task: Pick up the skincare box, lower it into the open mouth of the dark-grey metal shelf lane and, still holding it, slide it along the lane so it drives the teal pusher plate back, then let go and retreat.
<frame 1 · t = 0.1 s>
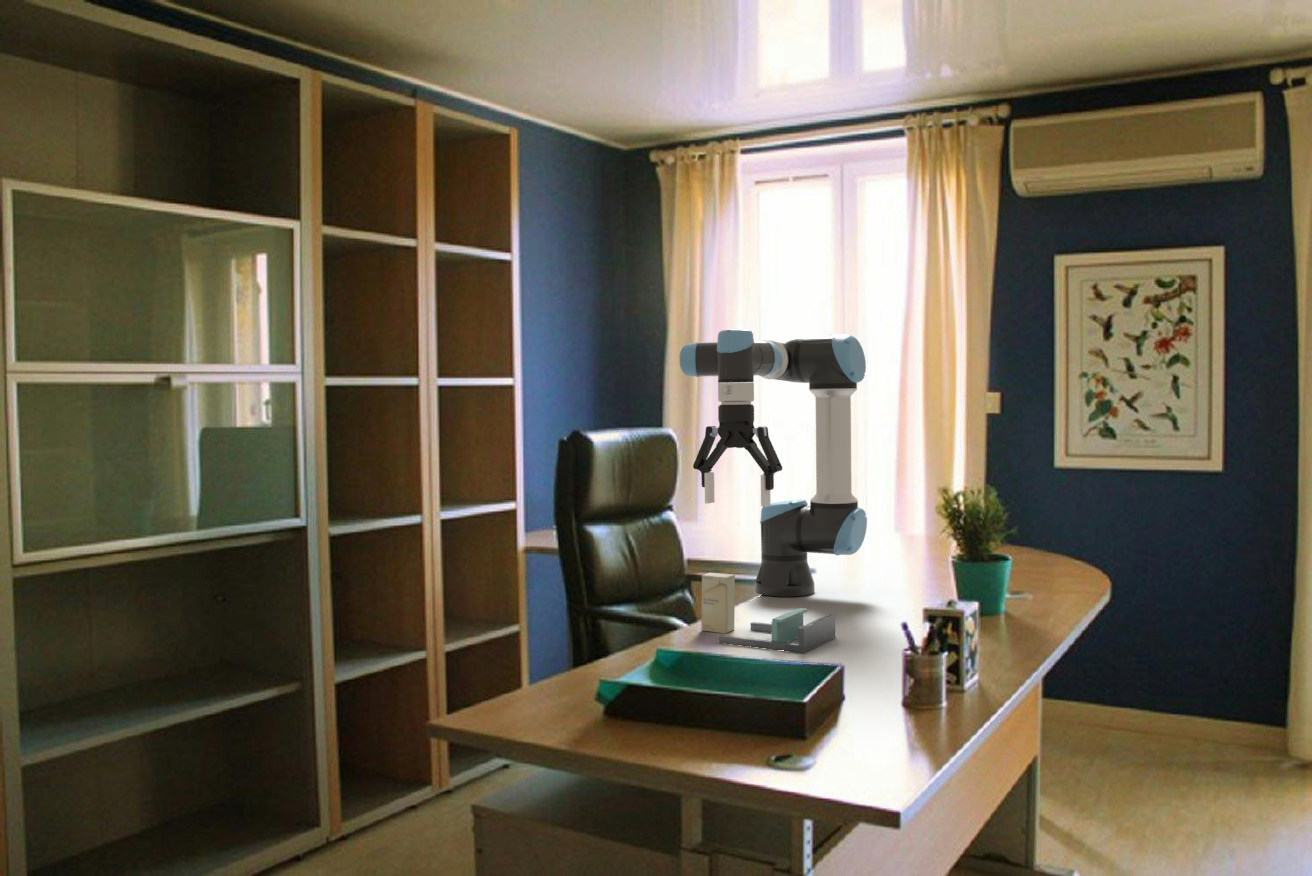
hand: (737, 504, 237), 28 cm above the table, fingers open, 13 cm apart
lane: (774, 640, 233), on the table
skincare box: (718, 631, 244), on the table
pusher: (786, 626, 231), point 3 cm above the table, slide at 0.0 cm
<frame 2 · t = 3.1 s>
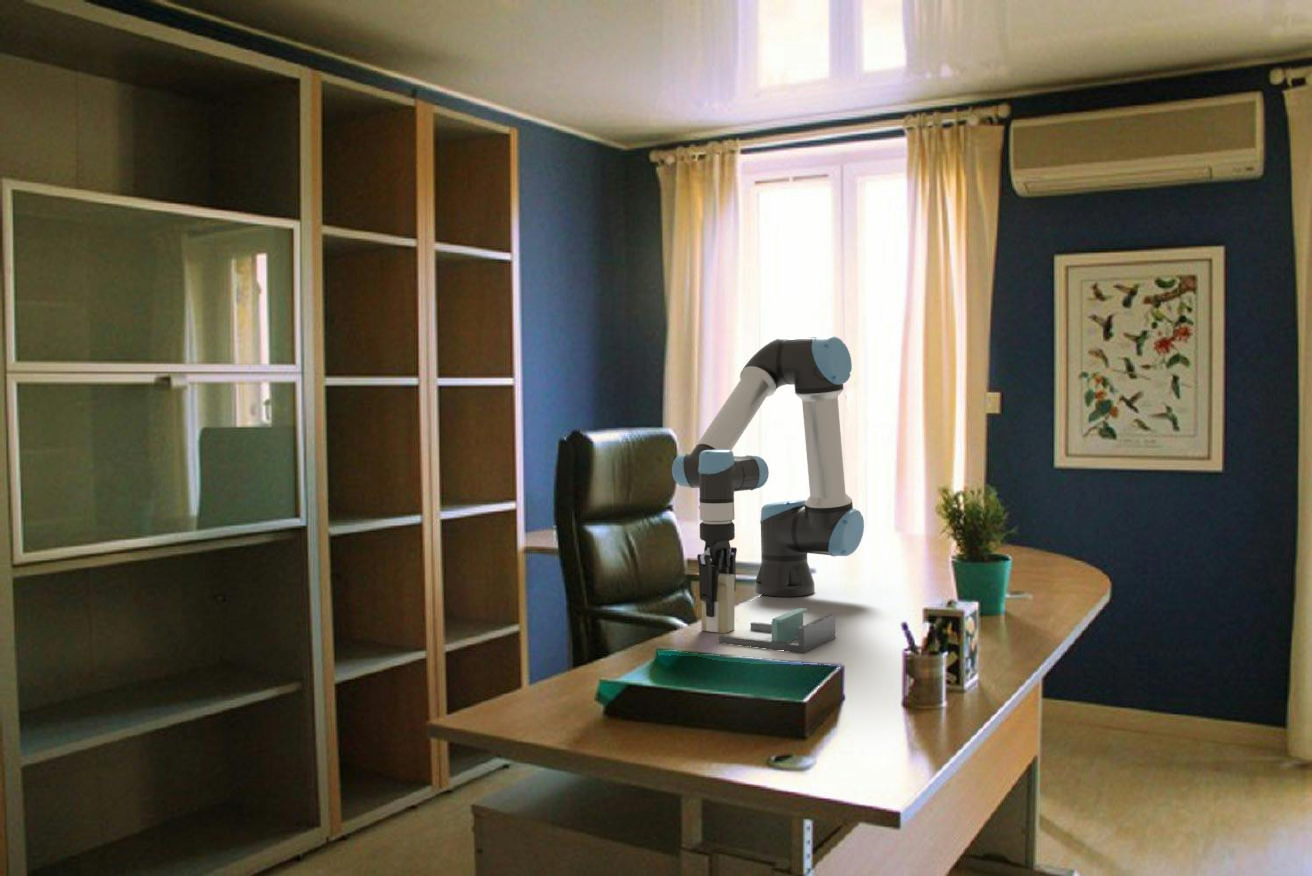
hand: (718, 628, 243), 0 cm above the table, fingers closed on skincare box, 4 cm apart
skincare box: (718, 631, 244), on the table, touching gripper
everything else where it was.
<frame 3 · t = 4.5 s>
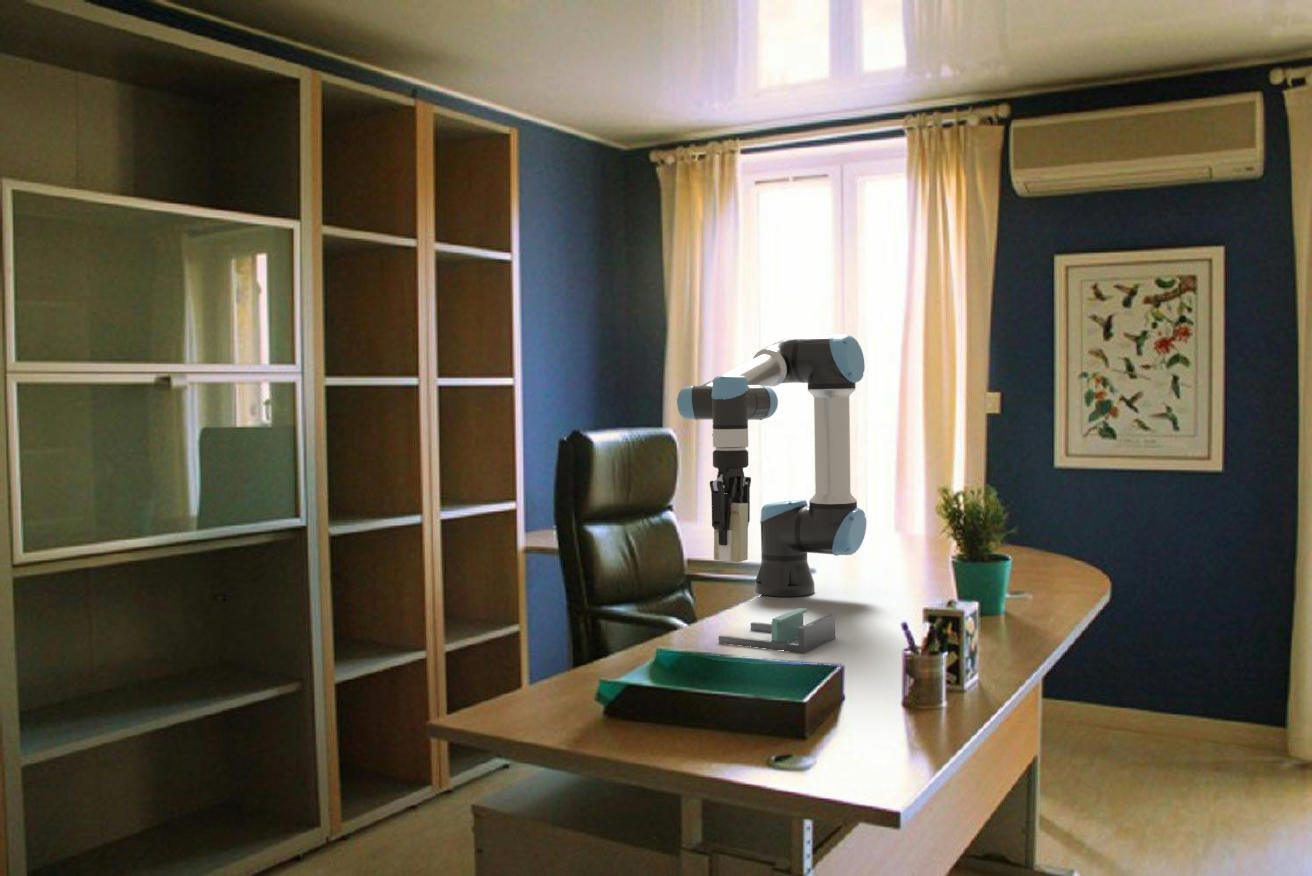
hand: (731, 558, 239), 16 cm above the table, fingers closed on skincare box, 4 cm apart
skincare box: (731, 561, 239), point 16 cm above the table, touching gripper
everything else where it was.
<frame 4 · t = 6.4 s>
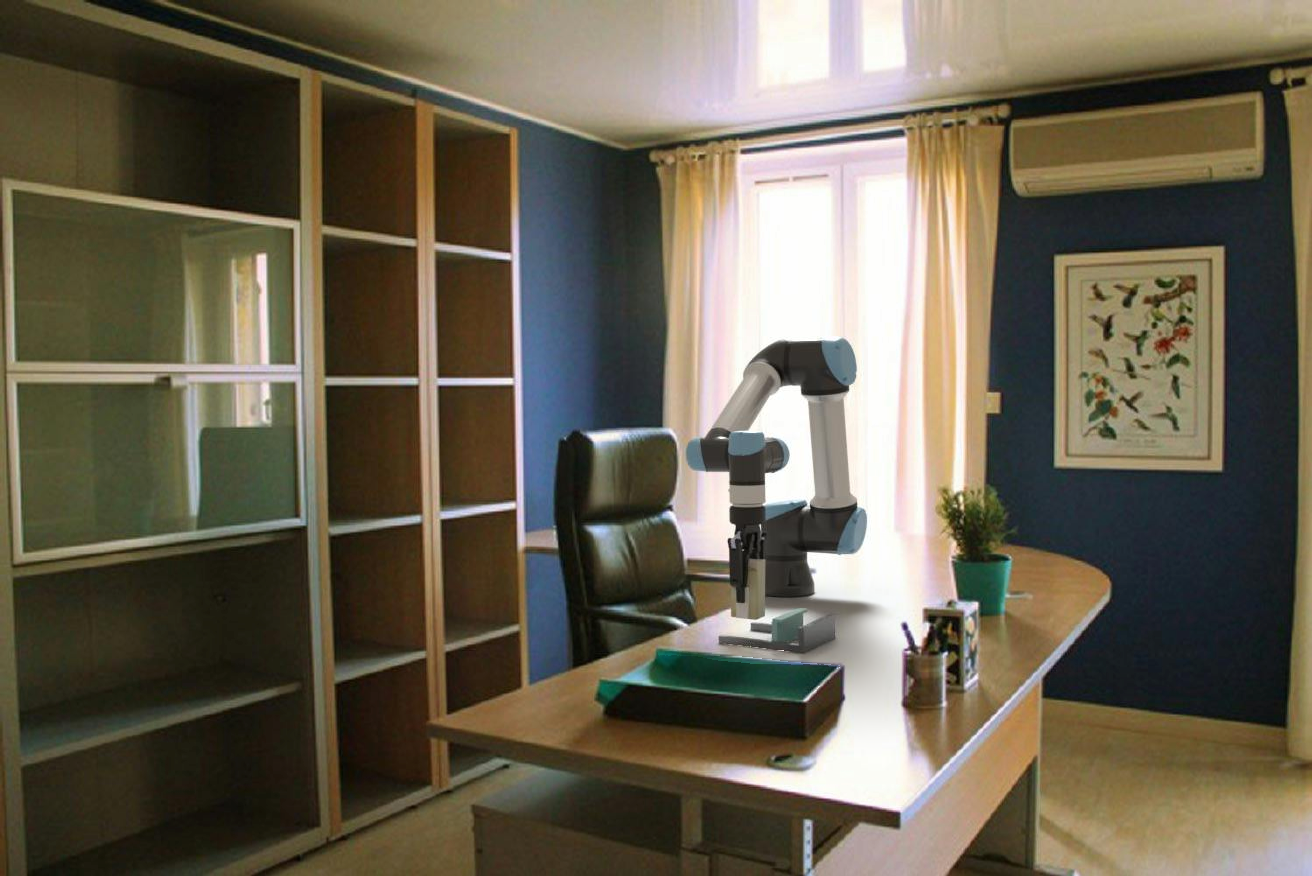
hand: (748, 615, 236), 5 cm above the table, fingers closed on skincare box, 4 cm apart
skincare box: (748, 617, 236), point 4 cm above the table, touching gripper
everything else where it was.
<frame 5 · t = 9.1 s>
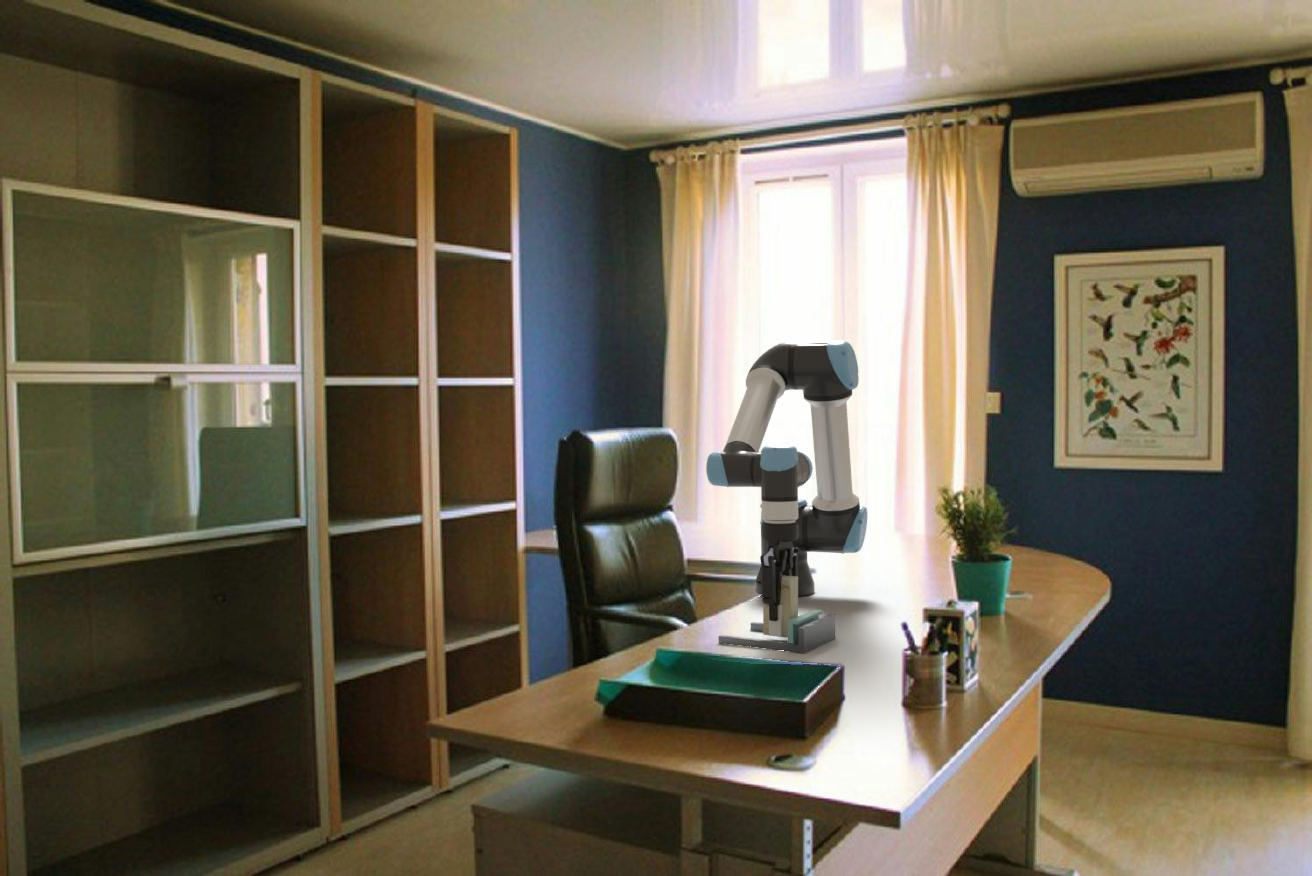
hand: (781, 633, 232), 2 cm above the table, fingers closed on skincare box, 4 cm apart
skincare box: (781, 635, 232), point 1 cm above the table, touching gripper, pusher
pusher: (802, 628, 229), point 3 cm above the table, slide at 3.5 cm, touching skincare box
when the fingers open (2 cm above the table, at t = 9.7 s): skincare box drops 1 cm, resting in lane.
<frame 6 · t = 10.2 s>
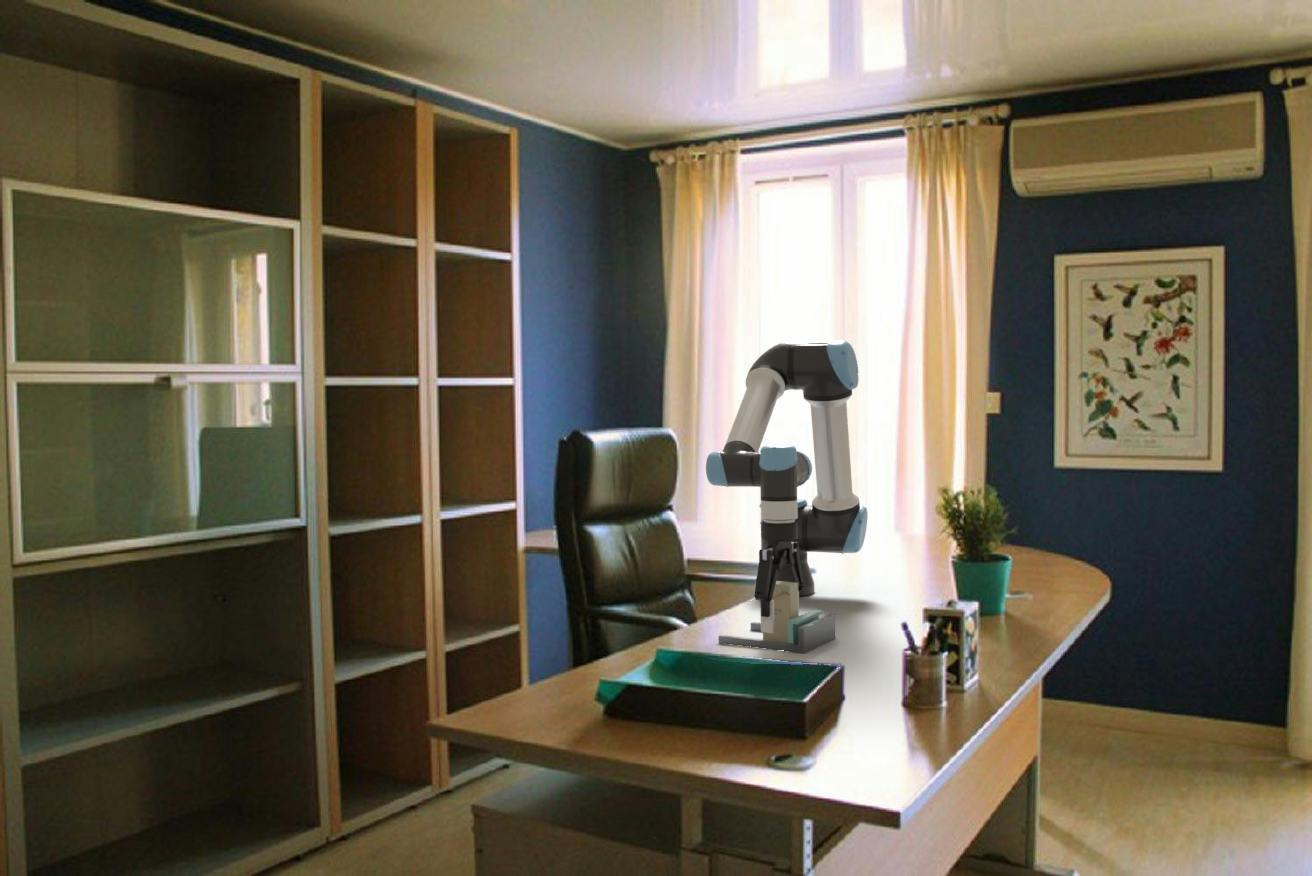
hand: (780, 626, 232), 3 cm above the table, fingers open, 11 cm apart
skincare box: (781, 642, 232), resting in lane
pusher: (802, 628, 229), point 3 cm above the table, slide at 3.5 cm
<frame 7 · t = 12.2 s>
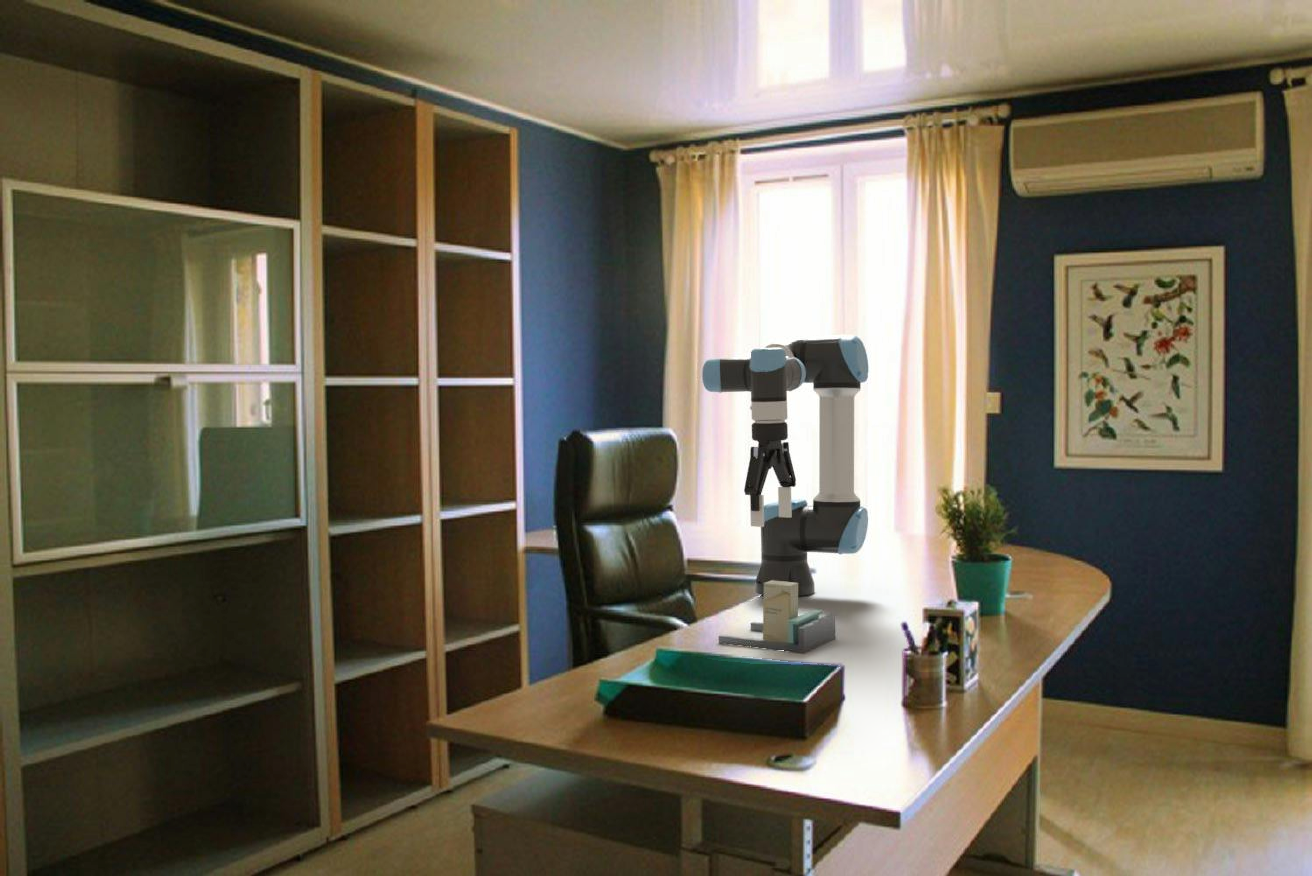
hand: (771, 521, 238), 24 cm above the table, fingers open, 13 cm apart
nothing on the table moved.
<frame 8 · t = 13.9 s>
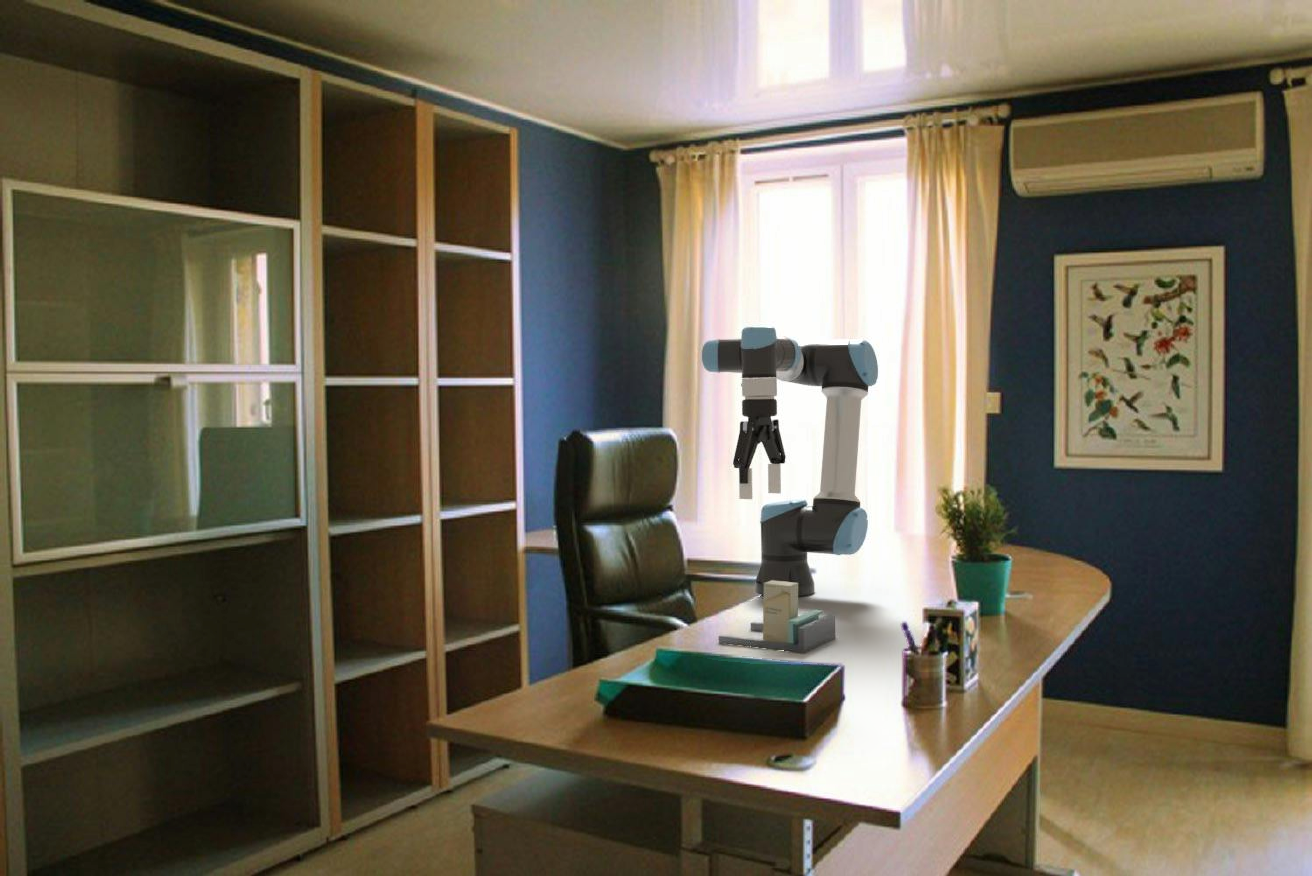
hand: (760, 496, 244), 29 cm above the table, fingers open, 13 cm apart
nothing on the table moved.
at the end: skincare box inside the target area (0.3 cm from its centre), resting in lane; pusher slide at 3.5 cm; skincare box tilted 0° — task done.
